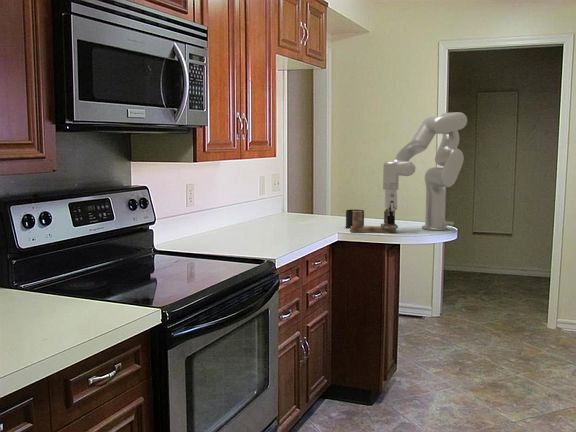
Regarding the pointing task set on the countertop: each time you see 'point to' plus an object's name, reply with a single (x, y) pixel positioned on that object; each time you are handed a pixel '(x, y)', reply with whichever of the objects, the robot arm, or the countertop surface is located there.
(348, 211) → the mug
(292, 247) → the countertop surface
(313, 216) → the countertop surface
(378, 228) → the rail
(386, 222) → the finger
